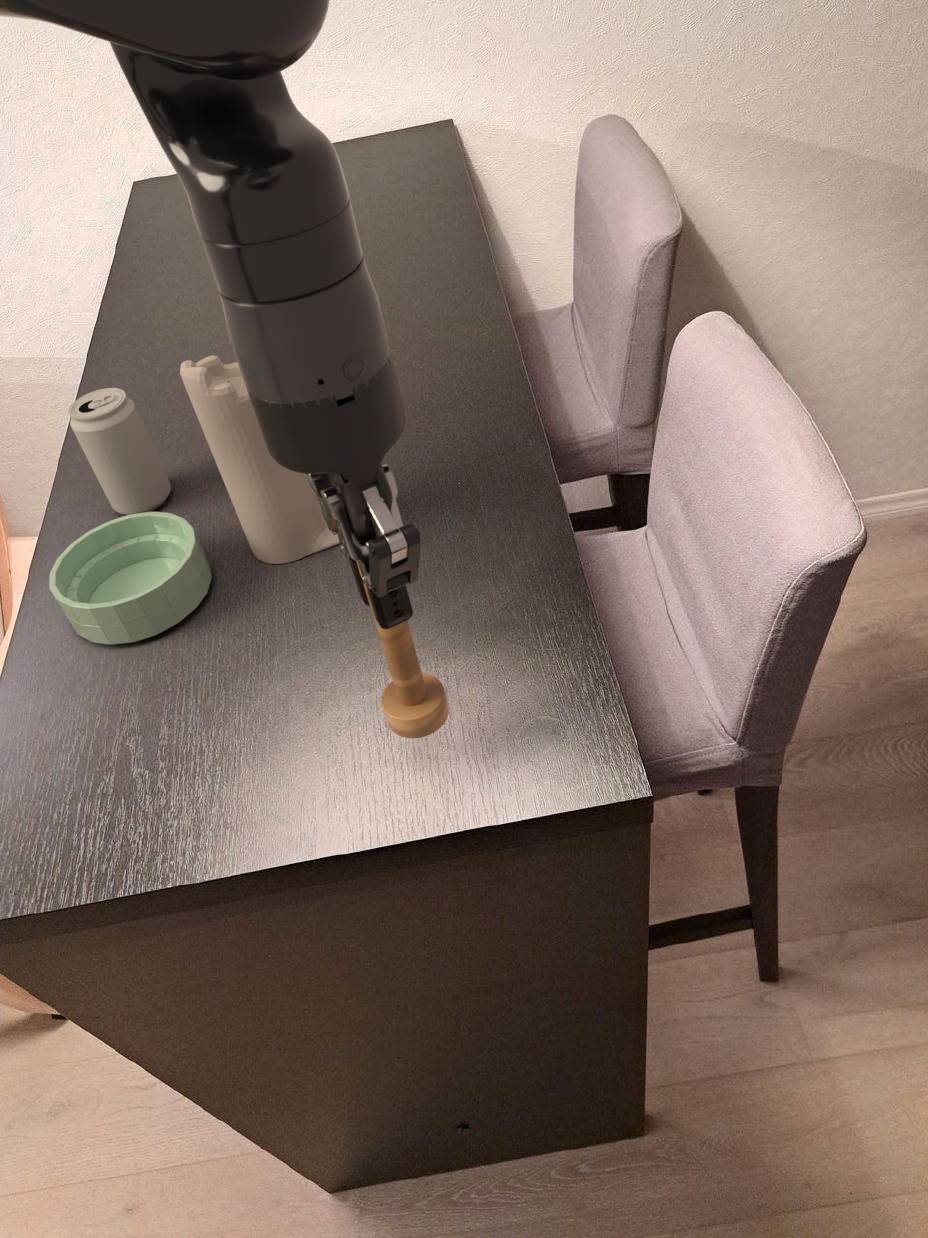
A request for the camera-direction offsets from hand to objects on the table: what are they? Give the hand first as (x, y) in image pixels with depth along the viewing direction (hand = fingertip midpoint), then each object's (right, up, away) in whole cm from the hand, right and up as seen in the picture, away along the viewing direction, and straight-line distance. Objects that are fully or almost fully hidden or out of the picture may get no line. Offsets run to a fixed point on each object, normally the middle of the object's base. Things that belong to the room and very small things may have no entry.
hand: (387, 609), depth 59 cm
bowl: (-25, +1, +29) cm, 38 cm away
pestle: (+2, -7, +7) cm, 10 cm away
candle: (-9, +8, +32) cm, 34 cm away
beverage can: (-29, +12, +41) cm, 51 cm away
